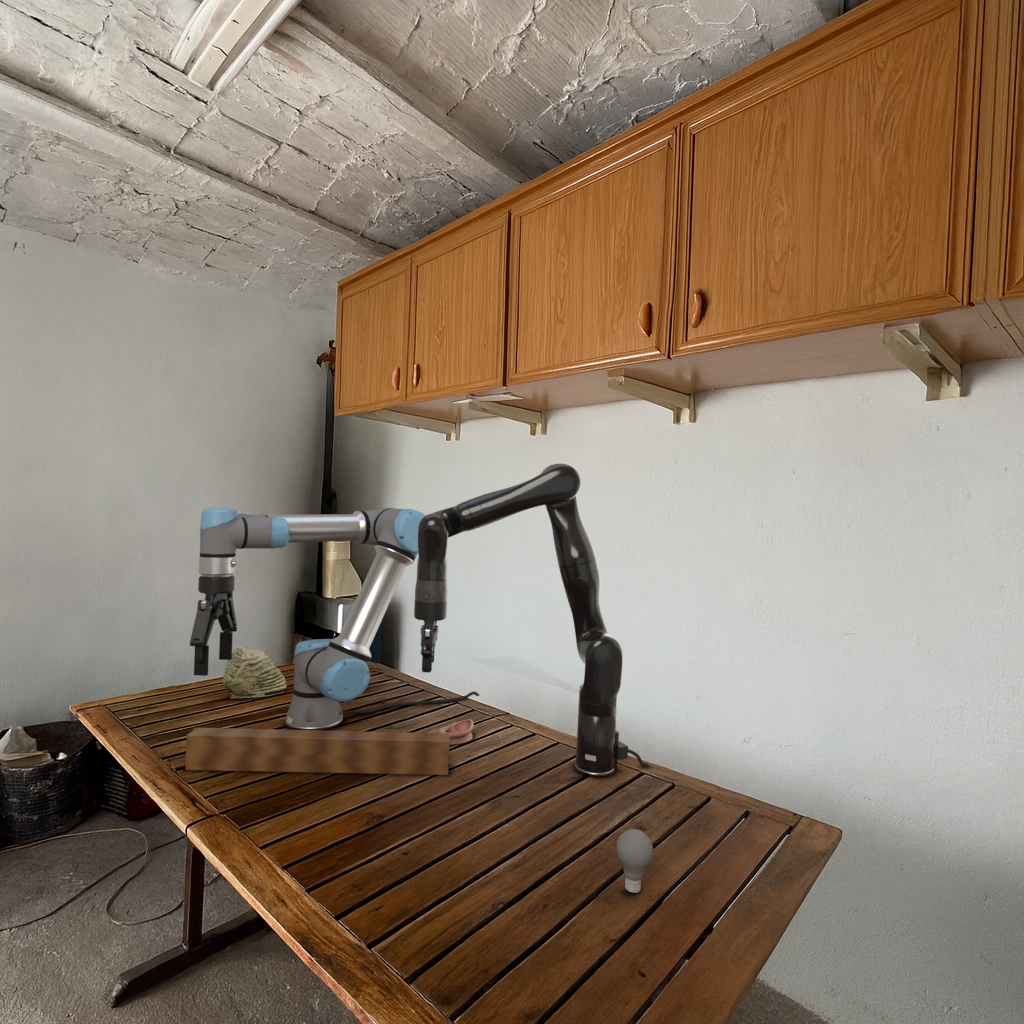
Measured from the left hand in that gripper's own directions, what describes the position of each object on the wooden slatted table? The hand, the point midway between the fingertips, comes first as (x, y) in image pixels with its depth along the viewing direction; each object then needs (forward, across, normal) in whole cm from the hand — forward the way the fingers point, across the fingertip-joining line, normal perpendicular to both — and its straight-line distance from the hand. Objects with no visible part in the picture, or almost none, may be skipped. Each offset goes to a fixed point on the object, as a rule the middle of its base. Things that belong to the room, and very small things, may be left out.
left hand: (213, 667), depth 146 cm
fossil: (+23, +52, +8) cm, 58 cm away
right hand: (-1, 0, -49) cm, 49 cm away
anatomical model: (+23, +20, -54) cm, 62 cm away
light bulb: (+23, -46, -88) cm, 101 cm away
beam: (+23, 0, -25) cm, 34 cm away
